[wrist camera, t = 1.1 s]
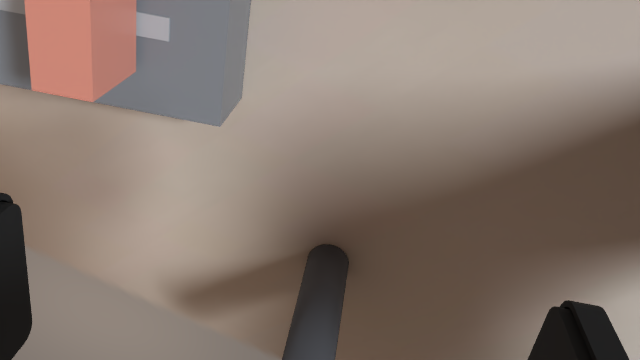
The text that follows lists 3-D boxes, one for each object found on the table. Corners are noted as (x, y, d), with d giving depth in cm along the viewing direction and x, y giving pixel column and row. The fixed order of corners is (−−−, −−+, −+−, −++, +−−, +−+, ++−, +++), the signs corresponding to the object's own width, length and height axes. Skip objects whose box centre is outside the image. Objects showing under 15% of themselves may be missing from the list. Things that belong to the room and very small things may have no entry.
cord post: (351, 249, 34) (333, 380, 25) (344, 282, 35) (324, 419, 26) (310, 240, 34) (277, 368, 25) (304, 274, 35) (271, 407, 26)
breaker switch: (136, -24, 24) (89, -7, 20) (135, 71, 26) (92, 101, 22) (79, -34, 24) (22, -19, 20) (82, 61, 26) (31, 90, 22)
